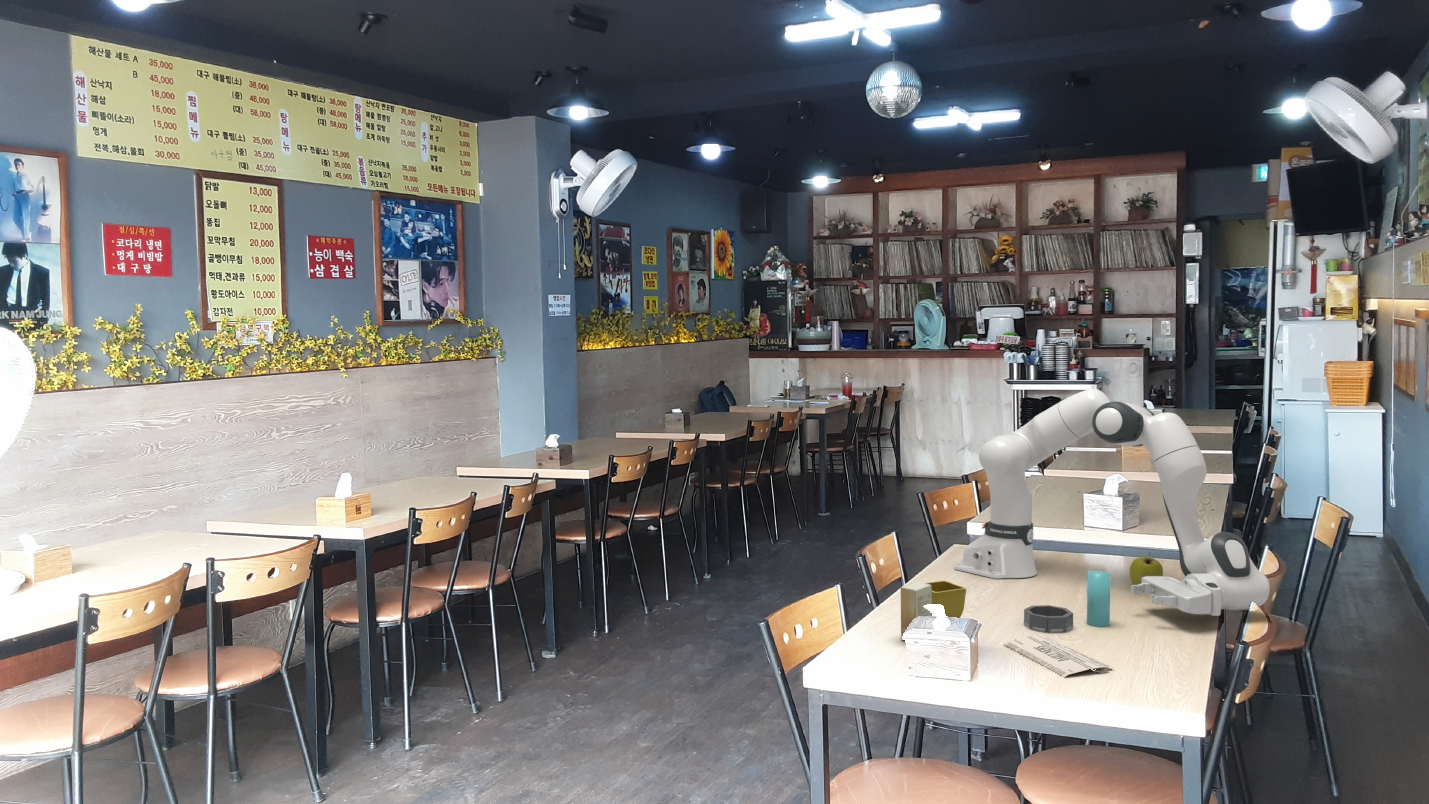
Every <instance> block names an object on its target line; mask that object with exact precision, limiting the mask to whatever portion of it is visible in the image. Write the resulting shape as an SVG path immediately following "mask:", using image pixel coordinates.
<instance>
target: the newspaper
mask: <svg viewBox="0 0 1429 804" xmlns="http://www.w3.org/2000/svg"><path fill="white" fill-rule="evenodd" d="M1003 645H1004V646H1003ZM1002 646H1003V647H1005V648H1007V649H1009V648H1010V649H1009V650H1011V651H1012V650H1013V652H1014V651H1015V652H1014V653H1016V652H1017V653H1016V654H1018V653H1019V654H1018V655H1020V656H1022V655H1023V656H1022V657H1024V656H1025V657H1024V658H1026V659H1027V658H1028V660H1029V659H1031V660H1032V661H1031V660H1030V661H1031V662H1033V661H1034V663H1035V662H1036V663H1035V664H1037V663H1038V664H1037V665H1039V664H1040V665H1039V666H1041V667H1043V666H1044V667H1046V668H1047V669H1046V668H1045V669H1046V670H1048V669H1049V670H1048V671H1050V670H1051V671H1050V672H1052V671H1053V672H1052V673H1054V672H1055V674H1056V673H1057V674H1056V675H1058V674H1059V675H1058V676H1059V677H1061V676H1063V677H1065V678H1066V677H1067V676H1070V675H1072V674H1077V673H1080V672H1084V671H1088V670H1089V669H1093V670H1095V669H1096V670H1095V671H1096V672H1097V671H1098V672H1099V673H1098V674H1105V673H1106V674H1107V673H1108V672H1109V671H1110V669H1113V668H1114V667H1113V666H1110V665H1108V664H1106V663H1104V662H1102V661H1099V660H1097V659H1095V658H1092V657H1090V656H1087V655H1085V654H1083V653H1080V652H1079V651H1076V650H1074V649H1072V648H1070V647H1068V646H1066V645H1064V644H1061V643H1059V642H1058V641H1055V640H1053V639H1051V638H1048V637H1046V636H1045V635H1043V634H1037V635H1030V636H1024V637H1020V638H1016V639H1011V640H1008V641H1006V642H1003V644H1002ZM1044 667H1043V668H1044ZM1089 671H1090V670H1089ZM1096 672H1095V673H1096ZM1100 672H1101V673H1100ZM1063 677H1062V678H1063Z"/></svg>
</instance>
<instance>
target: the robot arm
mask: <svg viewBox="0 0 1429 804" xmlns="http://www.w3.org/2000/svg"><path fill="white" fill-rule="evenodd" d="M1094 432H1095V434H1096V435H1097V436H1098V438H1100V439H1101V440H1103V441H1104V442H1106V443H1110V444H1114V445H1118V446H1122V447H1142V446H1143V447H1144V448H1146V450H1147V453H1149V456H1150V458H1151V460H1152V462H1153V465H1154V467H1155V469H1156V472H1157V474H1158V477H1159V482H1160V485H1161V490H1162V498H1163V503H1164V506H1165V509H1166V513H1167V516H1168V519H1169V522H1170V525H1171V529H1172V531H1173V535H1174V537H1175V540H1176V544H1177V548H1178V551H1179V552H1178V553H1179V567H1180V570H1181V572H1182V574H1183V575H1184V579H1181V580H1179V579H1177V578H1174V577H1173V576H1172V577H1171V576H1145V577H1143V578H1142V581H1141V584H1139V585H1133V584H1132V585H1131V586H1130V589H1131V590H1130V592H1131V593H1132V594H1135V595H1140V594H1141V595H1142V594H1143V593H1146V594H1147V595H1150V596H1151V603H1152V604H1154V605H1156V606H1158V605H1159V606H1162V605H1163V606H1169V607H1173V608H1174V609H1177V610H1179V611H1182V612H1183V613H1187V614H1193V615H1209V616H1211V617H1217V616H1221V613H1222V612H1221V611H1222V610H1225V611H1244V610H1245V611H1246V610H1250V609H1249V605H1250V602H1254V603H1256V604H1257V605H1258V606H1259V607H1261V606H1262V605H1264V604H1265V603H1266V602H1267V600H1268V598H1269V596H1270V590H1271V589H1270V586H1271V585H1270V582H1269V579H1268V578H1267V576H1266V575H1265V574H1264V573H1263V572H1261V571H1260V570H1259V569H1258V567H1256V565H1255V564H1254V562H1253V560H1252V559H1251V556H1250V553H1249V550H1248V546H1247V545H1246V543H1245V542H1244V540H1243V539H1242V538H1241V537H1239V536H1237V535H1236V534H1234V533H1232V532H1229V531H1220V532H1218V533H1216V534H1214V535H1212V536H1209V537H1208V538H1207V539H1205V537H1204V535H1203V531H1202V529H1201V525H1200V523H1199V521H1198V518H1197V515H1196V510H1195V502H1196V498H1197V495H1198V492H1199V490H1200V488H1201V487H1202V485H1203V483H1204V481H1205V480H1206V477H1207V473H1208V472H1207V465H1206V461H1205V458H1204V455H1203V453H1202V451H1201V449H1200V447H1199V444H1198V443H1197V441H1196V439H1195V437H1194V435H1193V434H1192V432H1191V431H1190V429H1189V427H1188V426H1187V425H1186V423H1185V422H1184V420H1183V419H1182V418H1181V417H1180V416H1179V415H1178V414H1177V413H1173V412H1167V411H1166V412H1160V413H1157V414H1154V412H1153V411H1152V410H1150V409H1149V408H1147V407H1144V406H1142V405H1138V404H1137V403H1136V404H1135V403H1132V402H1121V401H1116V400H1115V401H1111V400H1110V398H1109V397H1108V395H1106V393H1104V392H1103V391H1101V390H1100V389H1098V388H1088V389H1085V390H1082V391H1080V392H1078V393H1075V394H1073V395H1070V396H1069V397H1066V398H1064V399H1063V400H1060V401H1059V402H1057V403H1055V404H1054V405H1052V406H1050V407H1049V408H1047V409H1046V410H1044V411H1042V412H1039V414H1037V415H1035V416H1034V417H1033V418H1031V420H1029V421H1028V422H1027V423H1025V424H1024V425H1023V426H1021V427H1020V428H1018V429H1016V430H1014V431H1011V432H1009V433H1006V434H1002V435H996V436H994V437H991V438H990V439H989V440H987V441H986V442H985V443H984V444H983V445H982V446H981V449H980V450H979V454H978V457H979V458H978V460H979V463H980V466H981V467H982V469H983V470H984V471H985V475H986V478H987V479H986V480H987V485H988V488H989V496H990V520H989V521H986V522H985V523H983V524H981V526H982V527H981V529H984V533H983V534H982V535H980V536H979V537H978V538H976V539H975V540H973V541H972V542H970V543H969V544H968V545H966V547H965V548H964V551H963V552H964V553H963V555H962V560H960V561H958V562H956V563H955V564H954V570H957V571H960V572H961V571H962V572H965V573H969V574H975V575H979V576H982V577H987V578H990V579H998V580H999V579H1022V578H1031V577H1034V576H1036V575H1038V571H1037V567H1036V564H1035V563H1036V562H1035V558H1034V550H1033V543H1034V522H1032V519H1033V518H1032V517H1033V516H1032V515H1033V514H1032V513H1033V508H1032V506H1033V503H1032V502H1033V496H1032V493H1031V492H1030V489H1029V488H1028V484H1027V479H1026V471H1027V470H1028V471H1029V470H1030V469H1032V468H1033V467H1036V466H1037V465H1039V464H1040V463H1042V462H1043V461H1045V460H1046V459H1049V458H1050V457H1051V456H1053V455H1054V454H1055V453H1057V452H1060V451H1061V450H1063V449H1064V448H1066V447H1068V446H1070V445H1071V444H1073V443H1075V442H1077V441H1079V440H1080V439H1082V438H1083V437H1085V436H1087V435H1089V434H1091V433H1094Z"/></svg>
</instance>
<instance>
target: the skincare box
mask: <svg viewBox="0 0 1429 804" xmlns="http://www.w3.org/2000/svg"><path fill="white" fill-rule="evenodd" d="M924 583H925V582H919V581H918V582H917V581H914V582H911V583H908V584H905V585H902V586H900V639H901V638H902V636H903V633H904V632H905V630H906V629H907V627H908V626H909V624H910V623H911V622H912V620H913V619H914V618H916V617H918V616H932V613H930V611H928V610H927V609H925V608H924V607H923V606H924V605H927V604H932V598H931V597H932V596H931V585H929V584H924Z"/></svg>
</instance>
